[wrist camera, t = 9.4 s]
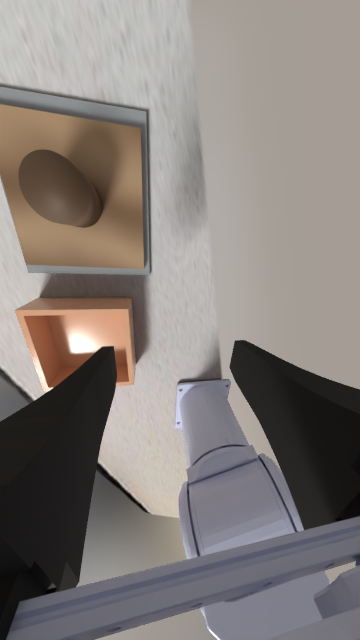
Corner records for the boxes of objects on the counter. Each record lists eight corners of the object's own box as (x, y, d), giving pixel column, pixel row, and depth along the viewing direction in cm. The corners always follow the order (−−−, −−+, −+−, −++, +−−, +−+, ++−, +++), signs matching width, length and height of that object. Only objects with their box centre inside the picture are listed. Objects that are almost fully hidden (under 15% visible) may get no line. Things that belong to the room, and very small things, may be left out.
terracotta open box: (136, 364, 23) (134, 384, 20) (59, 369, 21) (44, 391, 18) (131, 297, 19) (128, 309, 16) (38, 297, 18) (14, 310, 14)
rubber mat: (149, 274, 18) (149, 275, 18) (31, 271, 17) (28, 272, 16) (146, 114, 13) (146, 111, 13) (-23, 86, 12) (-29, 81, 11)
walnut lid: (144, 267, 18) (142, 277, 13) (31, 263, 16) (-12, 272, 12) (141, 133, 14) (137, 84, 9) (-11, 108, 12) (-102, 34, 8)
